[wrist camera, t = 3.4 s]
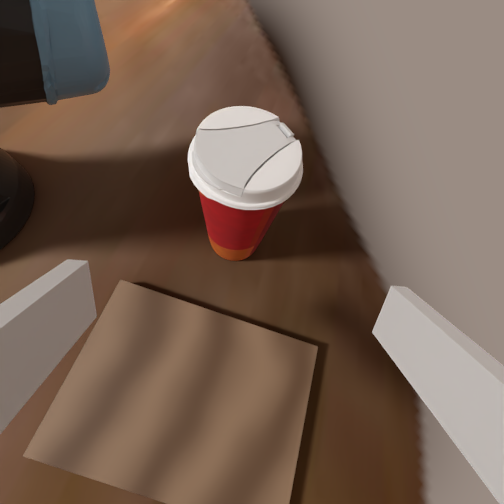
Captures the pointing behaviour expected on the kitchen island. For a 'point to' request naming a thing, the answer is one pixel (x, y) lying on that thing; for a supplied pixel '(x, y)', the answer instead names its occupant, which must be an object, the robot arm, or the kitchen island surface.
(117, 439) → the walnut board
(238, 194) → the paper cup
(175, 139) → the kitchen island surface
